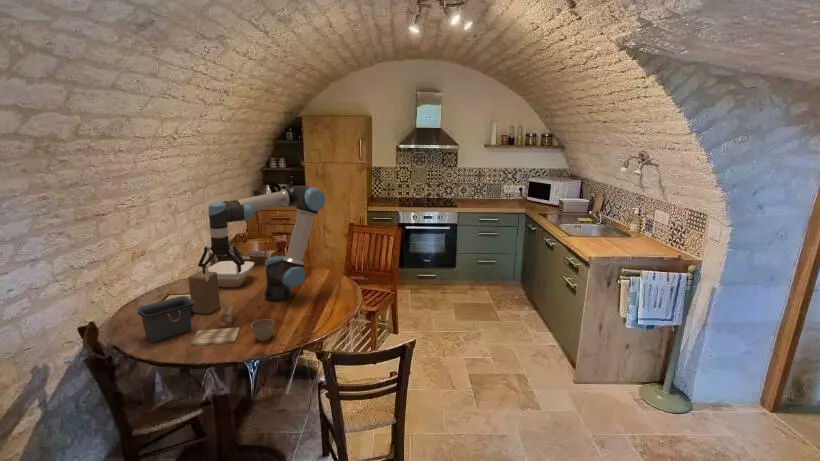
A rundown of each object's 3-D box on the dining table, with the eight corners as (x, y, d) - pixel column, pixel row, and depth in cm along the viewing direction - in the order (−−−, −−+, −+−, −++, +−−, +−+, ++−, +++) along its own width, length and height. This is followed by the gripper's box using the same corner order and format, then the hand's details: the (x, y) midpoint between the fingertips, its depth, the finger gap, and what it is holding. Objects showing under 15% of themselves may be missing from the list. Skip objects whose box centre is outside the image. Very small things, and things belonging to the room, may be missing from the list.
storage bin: (186, 321, 211) (183, 294, 207) (201, 331, 202) (199, 302, 198) (138, 337, 194) (134, 308, 191) (153, 348, 185) (148, 317, 182)
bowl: (244, 291, 250) (243, 274, 248) (202, 290, 251) (200, 273, 248) (258, 277, 274) (257, 261, 271) (220, 276, 274) (218, 260, 271)
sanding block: (234, 318, 215) (233, 306, 214) (231, 326, 207) (230, 314, 205) (223, 319, 214) (222, 307, 213) (219, 327, 206) (218, 314, 204)
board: (239, 329, 204) (239, 327, 203) (235, 342, 191) (234, 340, 191) (198, 332, 200) (198, 330, 199) (191, 346, 187) (190, 344, 187)
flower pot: (255, 333, 200) (254, 319, 198) (277, 333, 201) (276, 318, 199) (249, 344, 190) (248, 329, 189) (272, 343, 191) (271, 328, 190)
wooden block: (208, 315, 218) (205, 278, 213) (191, 313, 220) (187, 276, 215) (221, 307, 228) (217, 271, 223) (204, 305, 230) (200, 270, 225)
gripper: (249, 233, 207) (251, 275, 211) (192, 235, 201) (196, 278, 206) (246, 237, 200) (249, 280, 204) (188, 239, 194) (192, 283, 199)
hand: (223, 279), depth 205 cm, fingers open, 13 cm apart
